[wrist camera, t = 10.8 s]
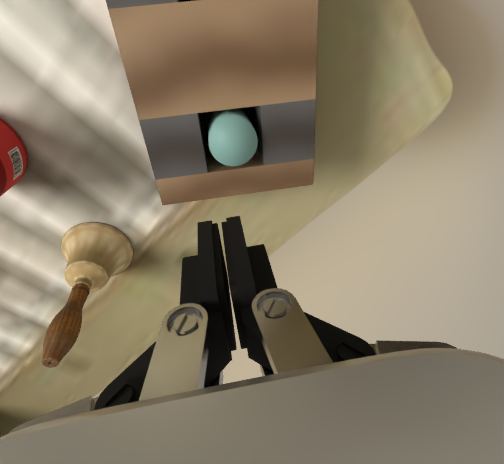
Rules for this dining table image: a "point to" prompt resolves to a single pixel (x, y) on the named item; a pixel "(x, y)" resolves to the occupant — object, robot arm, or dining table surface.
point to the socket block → (221, 88)
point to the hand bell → (84, 280)
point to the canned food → (11, 157)
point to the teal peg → (231, 136)
